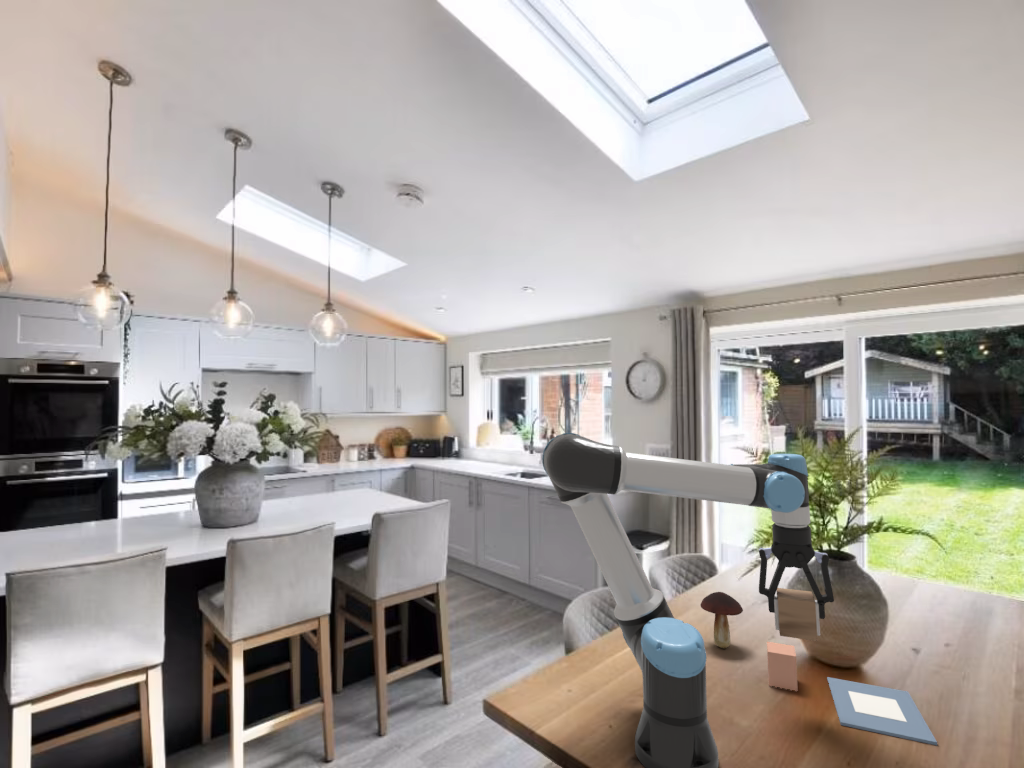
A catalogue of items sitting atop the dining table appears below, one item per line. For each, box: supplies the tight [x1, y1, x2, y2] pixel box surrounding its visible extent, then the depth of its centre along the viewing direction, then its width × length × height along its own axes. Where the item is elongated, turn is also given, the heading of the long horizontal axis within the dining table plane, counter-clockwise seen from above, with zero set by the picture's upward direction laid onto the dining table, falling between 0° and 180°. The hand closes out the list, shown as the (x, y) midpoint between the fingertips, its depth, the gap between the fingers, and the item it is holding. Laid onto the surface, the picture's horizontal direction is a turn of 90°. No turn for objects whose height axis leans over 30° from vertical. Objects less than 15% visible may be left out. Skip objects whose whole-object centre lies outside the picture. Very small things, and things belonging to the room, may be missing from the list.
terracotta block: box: [766, 641, 799, 692], centre depth 123 cm, size 6×6×8 cm
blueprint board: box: [826, 676, 938, 746], centre depth 111 cm, size 20×16×1 cm
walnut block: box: [776, 587, 818, 642], centre depth 111 cm, size 7×7×8 cm
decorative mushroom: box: [700, 591, 744, 649], centre depth 141 cm, size 11×11×15 cm
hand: (797, 630), depth 111 cm, fingers closed on walnut block, 7 cm apart
